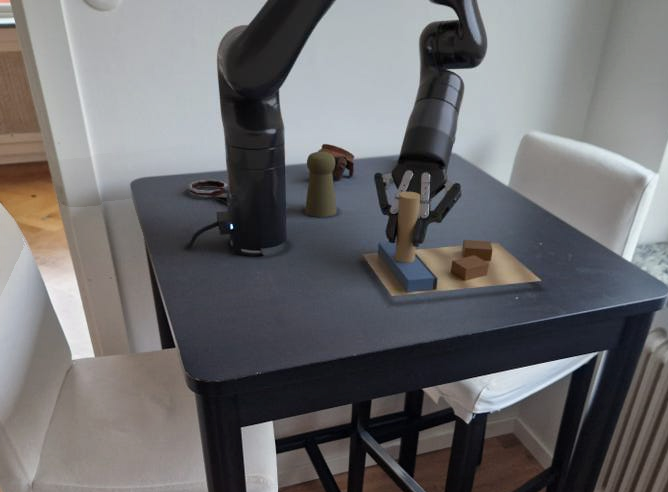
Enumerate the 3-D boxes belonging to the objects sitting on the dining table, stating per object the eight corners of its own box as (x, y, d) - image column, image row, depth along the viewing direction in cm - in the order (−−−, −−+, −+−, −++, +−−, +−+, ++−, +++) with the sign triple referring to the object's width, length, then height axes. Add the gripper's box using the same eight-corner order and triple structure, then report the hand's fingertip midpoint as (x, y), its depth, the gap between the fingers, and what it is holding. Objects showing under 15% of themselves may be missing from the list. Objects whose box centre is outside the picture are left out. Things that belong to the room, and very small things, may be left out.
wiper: (407, 292, 98) (413, 212, 91) (377, 253, 109) (381, 180, 102) (436, 289, 99) (445, 210, 92) (404, 251, 110) (410, 178, 104)
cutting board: (391, 305, 97) (391, 295, 97) (361, 262, 110) (361, 254, 109) (539, 289, 103) (541, 280, 103) (496, 250, 115) (497, 242, 115)
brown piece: (299, 177, 147) (312, 141, 146) (336, 193, 151) (349, 158, 150) (320, 179, 136) (334, 140, 135) (359, 196, 141) (373, 158, 140)
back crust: (463, 259, 108) (464, 247, 107) (461, 251, 111) (463, 239, 110) (490, 261, 108) (492, 249, 107) (488, 252, 111) (490, 241, 110)
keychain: (252, 215, 126) (252, 205, 124) (180, 193, 135) (179, 183, 133) (279, 204, 131) (279, 194, 130) (208, 184, 140) (208, 174, 139)
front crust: (464, 281, 102) (466, 268, 100) (450, 272, 104) (452, 260, 103) (487, 275, 103) (488, 263, 102) (472, 266, 106) (474, 255, 105)
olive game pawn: (332, 218, 126) (333, 159, 120) (301, 215, 127) (300, 156, 121) (339, 207, 131) (340, 150, 125) (309, 204, 132) (309, 147, 126)
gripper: (380, 119, 101) (352, 225, 97) (474, 129, 97) (448, 239, 94) (388, 146, 108) (362, 246, 104) (475, 157, 104) (451, 260, 101)
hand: (403, 242), depth 99 cm, fingers closed on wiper, 3 cm apart
